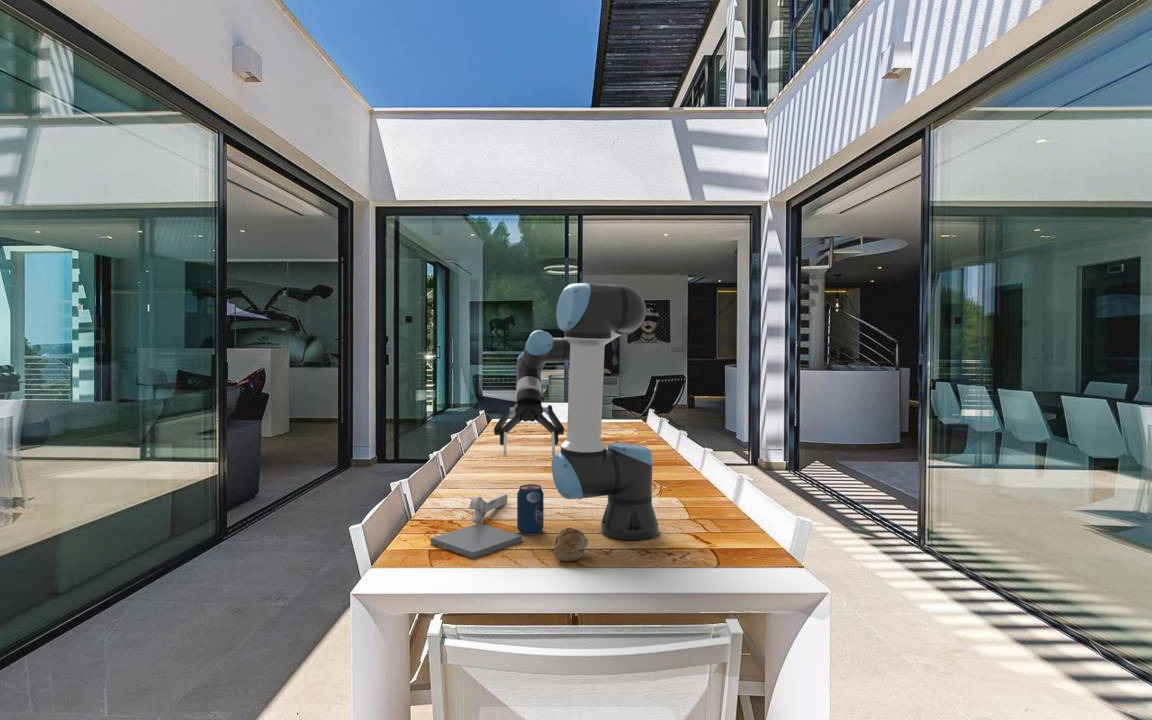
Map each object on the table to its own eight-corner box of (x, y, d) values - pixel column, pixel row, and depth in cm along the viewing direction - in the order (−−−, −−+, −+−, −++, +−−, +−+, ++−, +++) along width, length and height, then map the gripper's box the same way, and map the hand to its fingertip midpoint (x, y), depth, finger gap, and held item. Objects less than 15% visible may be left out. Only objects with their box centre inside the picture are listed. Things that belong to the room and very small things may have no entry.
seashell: (590, 555, 146) (557, 550, 148) (593, 526, 146) (560, 521, 148) (582, 568, 137) (548, 562, 139) (585, 536, 137) (551, 531, 139)
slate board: (522, 541, 154) (522, 535, 154) (473, 558, 142) (473, 552, 142) (479, 528, 165) (479, 523, 165) (430, 543, 152) (430, 537, 152)
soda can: (542, 536, 159) (542, 490, 158) (515, 535, 159) (515, 489, 159) (544, 527, 166) (544, 483, 165) (518, 527, 166) (518, 483, 166)
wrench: (507, 511, 192) (474, 529, 163) (501, 511, 192) (468, 528, 163) (508, 485, 193) (475, 498, 164) (502, 485, 193) (469, 498, 164)
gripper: (569, 402, 191) (572, 460, 177) (488, 402, 189) (485, 461, 175) (570, 387, 185) (574, 445, 171) (487, 387, 183) (483, 446, 169)
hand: (529, 453), depth 173 cm, fingers open, 13 cm apart
